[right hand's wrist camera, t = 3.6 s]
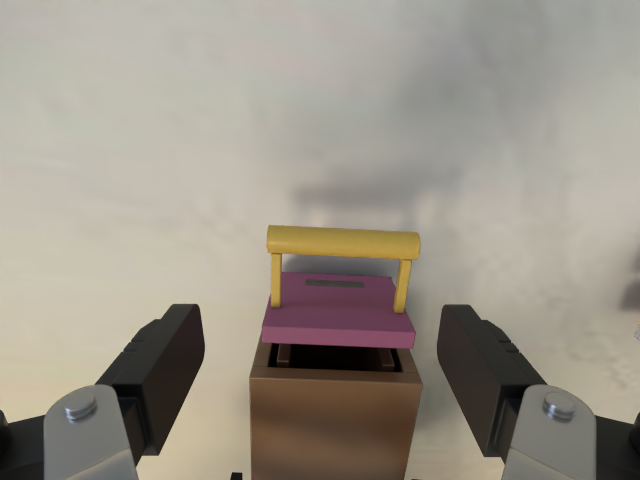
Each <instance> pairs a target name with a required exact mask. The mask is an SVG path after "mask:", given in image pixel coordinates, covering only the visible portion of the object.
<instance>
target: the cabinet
mask: <svg viewBox="0 0 640 480" xmlns="http://www.w3.org/2000/svg"><path fill="white" fill-rule="evenodd" d="M279 344H280V343H263V342H262V331H261V335H260V339H259V343H258V346H257V350H256V354H255V358H254V362H253V366H252V369H251V373H250V377H249V383H250V432H251V480H404V477H405V472H406V467H407V462H408V457H409V452H410V447H411V442H412V436H413V431H414V426H415V421H416V416H417V411H418V406H419V401H420V396H421V391H422V386H423V383H422V381H421V378H420V376H419V374H418V370H417V368H416V365H415V363H414V360H413V357H412V355H411V352H410V350H409V349H407V348H389V349H390V352H391V356H392V359H393V362H394V365H395V366H394V372H376V371H350V370H325V369H300V368H277V356H278V350H279Z"/></svg>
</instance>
